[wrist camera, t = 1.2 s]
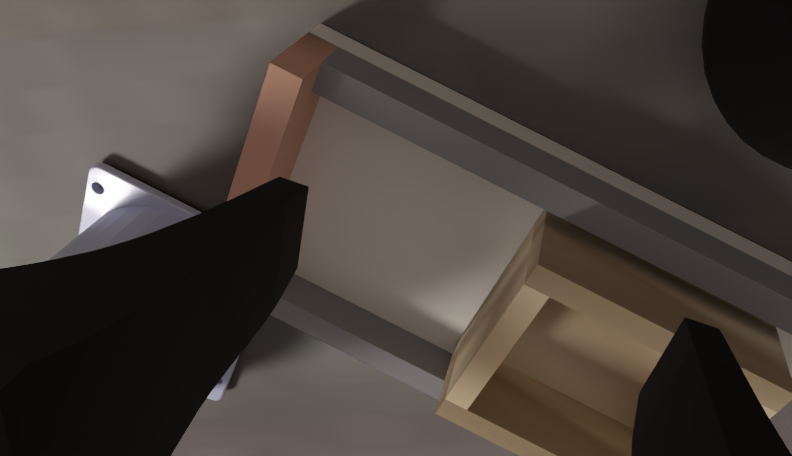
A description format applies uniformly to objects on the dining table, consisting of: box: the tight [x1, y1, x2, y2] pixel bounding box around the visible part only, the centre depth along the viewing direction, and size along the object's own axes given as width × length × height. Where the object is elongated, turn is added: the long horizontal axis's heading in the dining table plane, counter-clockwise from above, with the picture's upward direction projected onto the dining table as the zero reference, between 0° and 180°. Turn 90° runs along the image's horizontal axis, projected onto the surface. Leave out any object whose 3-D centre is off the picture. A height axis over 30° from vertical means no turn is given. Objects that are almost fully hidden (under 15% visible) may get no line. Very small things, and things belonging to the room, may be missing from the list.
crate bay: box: [227, 23, 792, 400], centre depth 24 cm, size 10×19×4 cm, turn 67°
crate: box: [435, 210, 792, 456], centre depth 23 cm, size 7×8×4 cm
